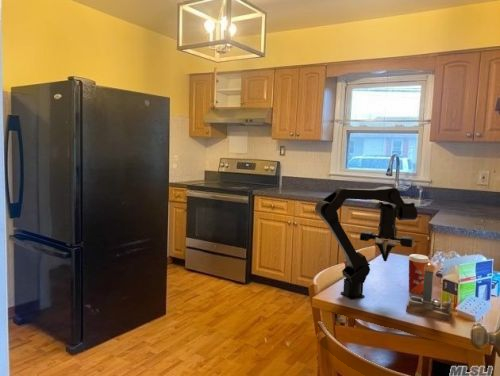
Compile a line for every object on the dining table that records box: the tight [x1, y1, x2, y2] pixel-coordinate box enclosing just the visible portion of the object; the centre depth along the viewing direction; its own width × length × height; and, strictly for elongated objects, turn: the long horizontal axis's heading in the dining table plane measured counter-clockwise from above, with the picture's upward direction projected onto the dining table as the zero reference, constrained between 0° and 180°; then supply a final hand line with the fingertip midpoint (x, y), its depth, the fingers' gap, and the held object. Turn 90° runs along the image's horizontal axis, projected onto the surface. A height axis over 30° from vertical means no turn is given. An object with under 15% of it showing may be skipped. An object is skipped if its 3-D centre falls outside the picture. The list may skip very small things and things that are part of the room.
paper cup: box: [407, 253, 430, 295], centre depth 149 cm, size 8×8×14 cm
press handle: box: [421, 263, 442, 308], centre depth 129 cm, size 6×3×14 cm, turn 58°
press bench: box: [405, 295, 453, 322], centre depth 130 cm, size 13×8×6 cm, turn 58°
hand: (385, 261), depth 144 cm, fingers closed
